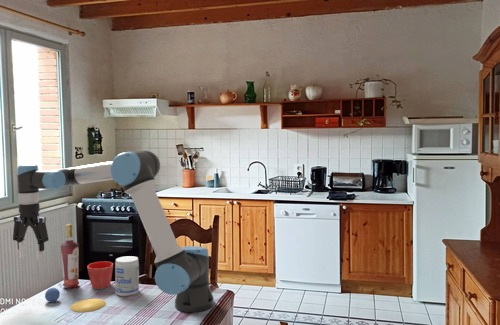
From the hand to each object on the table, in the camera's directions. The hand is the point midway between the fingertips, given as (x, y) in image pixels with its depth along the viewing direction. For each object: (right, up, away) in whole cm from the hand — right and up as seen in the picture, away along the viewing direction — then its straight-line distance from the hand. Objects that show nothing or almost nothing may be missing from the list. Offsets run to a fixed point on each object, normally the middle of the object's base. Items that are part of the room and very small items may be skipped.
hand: (31, 258), depth 179 cm
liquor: (+10, -16, +16) cm, 25 cm away
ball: (+9, -15, -2) cm, 17 cm away
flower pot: (+23, -16, +16) cm, 33 cm away
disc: (+25, -17, -6) cm, 31 cm away
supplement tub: (+37, -17, +8) cm, 41 cm away
